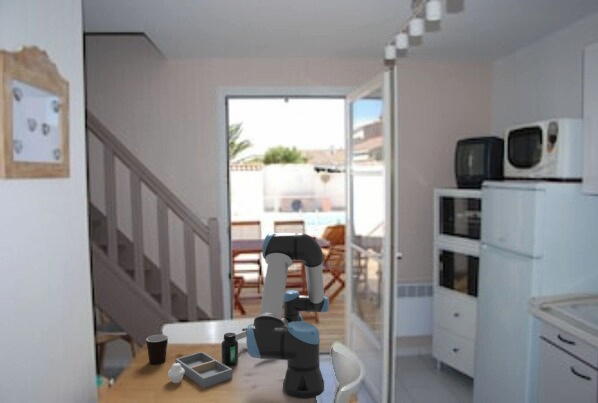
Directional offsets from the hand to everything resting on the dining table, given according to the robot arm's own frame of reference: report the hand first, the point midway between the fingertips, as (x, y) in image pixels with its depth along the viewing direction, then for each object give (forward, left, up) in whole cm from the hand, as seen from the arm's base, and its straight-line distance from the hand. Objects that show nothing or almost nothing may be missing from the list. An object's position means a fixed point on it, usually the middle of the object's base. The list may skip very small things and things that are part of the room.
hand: (245, 341), depth 183 cm
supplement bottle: (-2, +9, -7) cm, 11 cm away
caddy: (-3, +22, -6) cm, 23 cm away
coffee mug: (+20, +30, -7) cm, 37 cm away
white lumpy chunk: (-3, +33, -7) cm, 34 cm away
